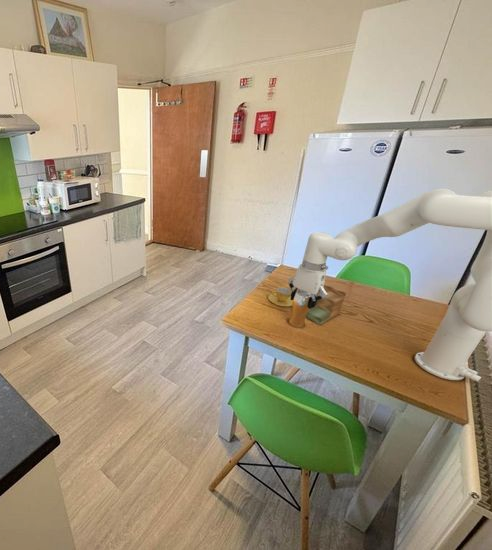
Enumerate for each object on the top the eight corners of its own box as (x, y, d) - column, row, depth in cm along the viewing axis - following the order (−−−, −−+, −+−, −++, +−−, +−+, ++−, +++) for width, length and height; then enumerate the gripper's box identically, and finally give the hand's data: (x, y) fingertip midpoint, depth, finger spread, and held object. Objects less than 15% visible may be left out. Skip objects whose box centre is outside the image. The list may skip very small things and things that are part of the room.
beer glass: (283, 319, 129) (291, 289, 122) (297, 317, 130) (306, 287, 123) (294, 328, 123) (303, 298, 116) (309, 326, 124) (318, 296, 117)
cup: (292, 295, 147) (294, 285, 144) (298, 308, 136) (301, 298, 134) (266, 292, 149) (268, 283, 147) (270, 305, 139) (272, 295, 137)
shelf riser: (339, 313, 132) (346, 292, 127) (319, 324, 125) (327, 302, 120) (312, 301, 141) (318, 281, 136) (293, 311, 134) (298, 290, 129)
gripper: (342, 270, 109) (328, 310, 117) (297, 254, 122) (288, 291, 130) (331, 275, 106) (317, 316, 114) (286, 259, 119) (277, 296, 127)
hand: (302, 303), depth 122 cm, fingers closed on beer glass, 7 cm apart
